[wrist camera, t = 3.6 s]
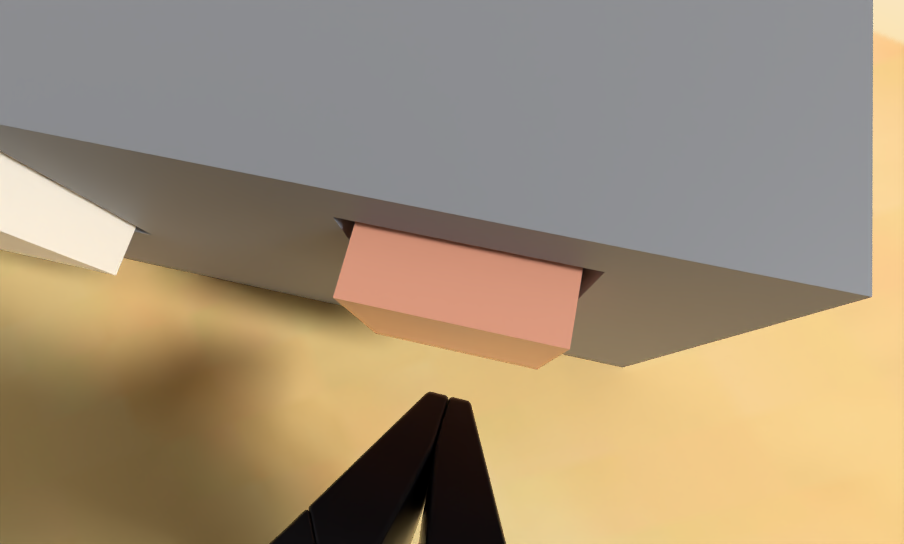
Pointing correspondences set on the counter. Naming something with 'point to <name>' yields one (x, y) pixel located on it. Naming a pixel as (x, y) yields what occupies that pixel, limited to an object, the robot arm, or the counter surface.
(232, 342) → the counter surface
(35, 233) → the cream button
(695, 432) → the counter surface
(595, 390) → the counter surface
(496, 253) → the terracotta button
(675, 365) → the counter surface
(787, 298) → the console
